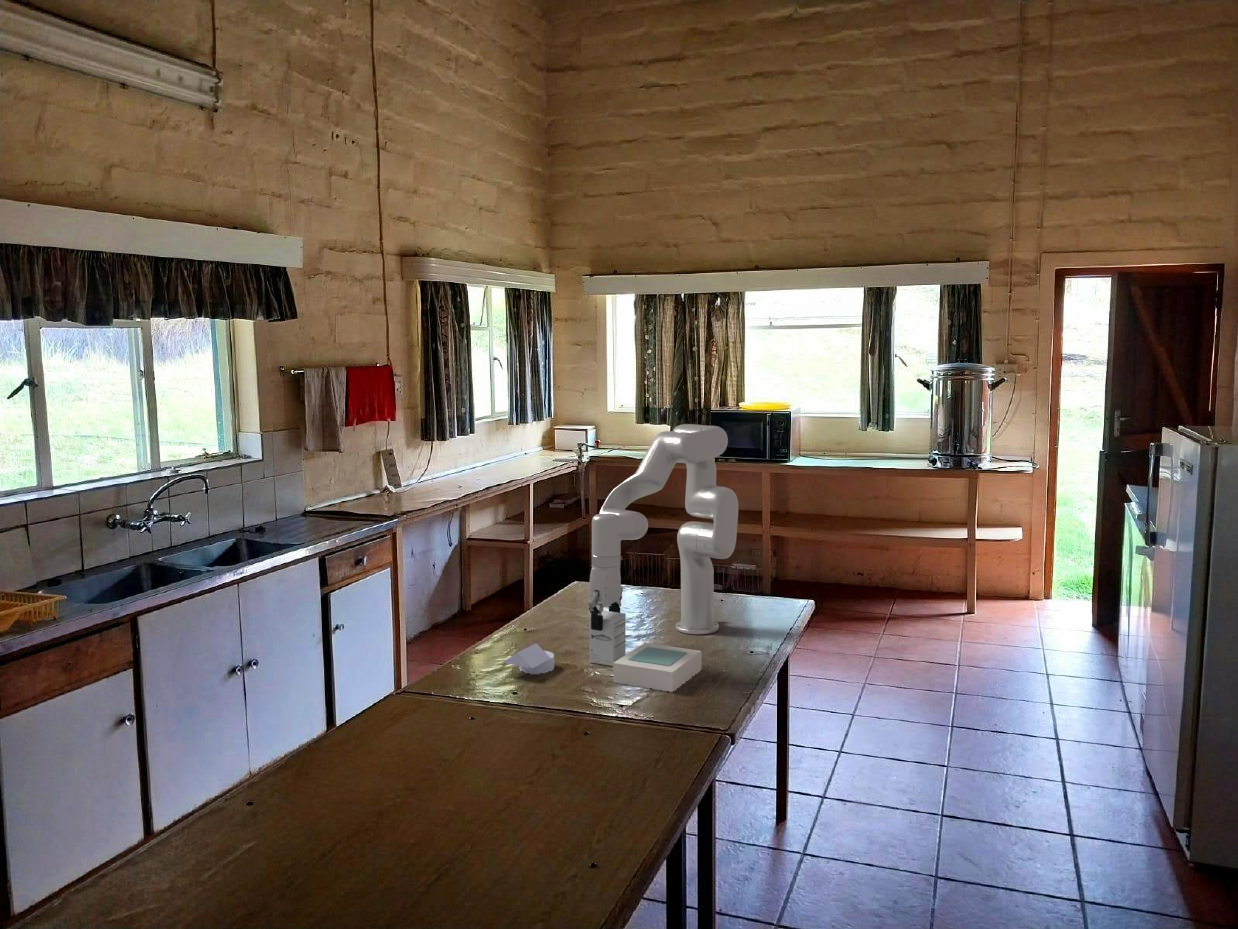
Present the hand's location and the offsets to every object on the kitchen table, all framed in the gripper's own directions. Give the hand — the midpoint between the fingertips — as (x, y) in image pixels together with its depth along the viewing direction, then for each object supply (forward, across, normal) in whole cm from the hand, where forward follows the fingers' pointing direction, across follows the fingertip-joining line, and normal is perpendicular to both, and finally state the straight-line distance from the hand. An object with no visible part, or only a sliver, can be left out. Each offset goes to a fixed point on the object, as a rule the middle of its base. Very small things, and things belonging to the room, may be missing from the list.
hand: (605, 625), depth 257 cm
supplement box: (+10, -1, 0) cm, 10 cm away
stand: (+10, +4, +17) cm, 20 cm away
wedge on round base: (+10, +14, -14) cm, 22 cm away
